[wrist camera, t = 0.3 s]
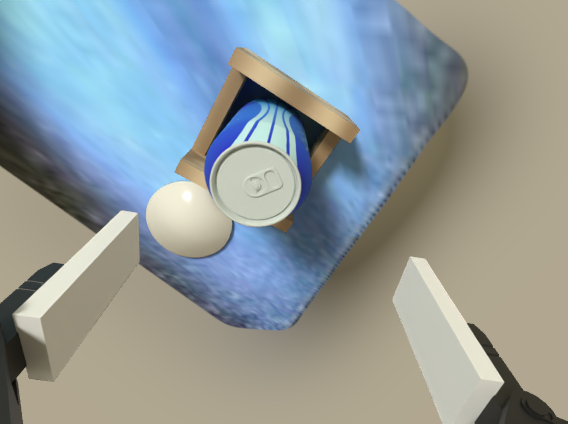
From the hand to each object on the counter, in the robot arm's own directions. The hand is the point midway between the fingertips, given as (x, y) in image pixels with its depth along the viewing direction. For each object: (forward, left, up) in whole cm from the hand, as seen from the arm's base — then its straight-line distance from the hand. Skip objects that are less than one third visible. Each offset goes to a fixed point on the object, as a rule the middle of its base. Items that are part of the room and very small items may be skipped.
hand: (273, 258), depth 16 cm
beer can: (-2, -1, -25) cm, 25 cm away
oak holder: (-2, -1, -24) cm, 24 cm away
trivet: (-5, -16, -24) cm, 29 cm away
